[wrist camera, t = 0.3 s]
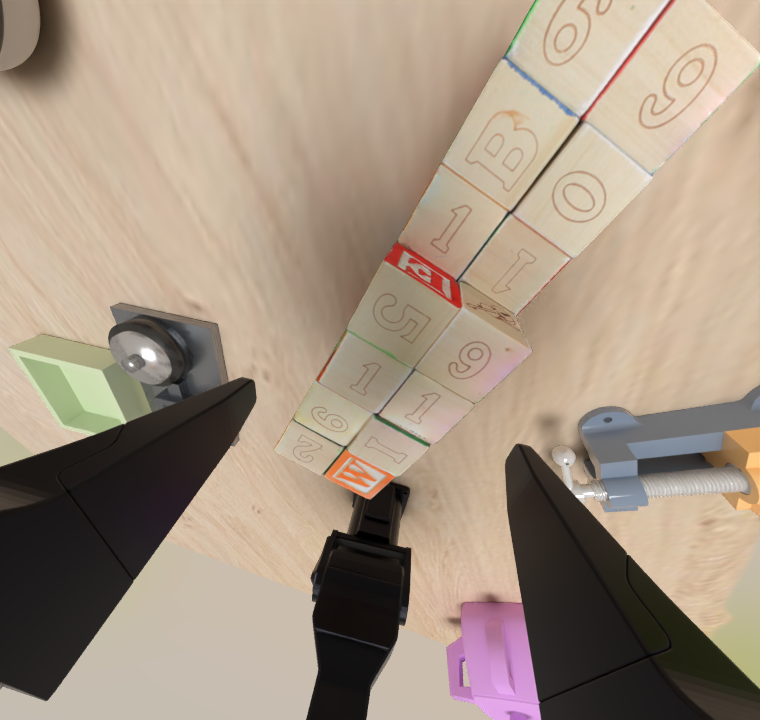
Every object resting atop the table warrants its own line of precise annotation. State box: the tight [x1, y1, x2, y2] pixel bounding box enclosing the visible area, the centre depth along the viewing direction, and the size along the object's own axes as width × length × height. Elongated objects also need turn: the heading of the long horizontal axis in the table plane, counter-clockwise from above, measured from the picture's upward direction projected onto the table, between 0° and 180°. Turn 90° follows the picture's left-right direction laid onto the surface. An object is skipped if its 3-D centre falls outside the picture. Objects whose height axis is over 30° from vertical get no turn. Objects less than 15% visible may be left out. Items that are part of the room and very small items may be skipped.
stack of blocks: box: [274, 0, 760, 499], centre depth 15 cm, size 21×6×12 cm, turn 150°
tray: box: [8, 334, 152, 436], centre depth 33 cm, size 12×11×3 cm
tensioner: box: [108, 303, 239, 446], centre depth 30 cm, size 16×10×4 cm, turn 172°
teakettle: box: [446, 602, 541, 720], centre depth 43 cm, size 17×17×12 cm
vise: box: [552, 385, 760, 516], centre depth 22 cm, size 18×10×7 cm, turn 113°
